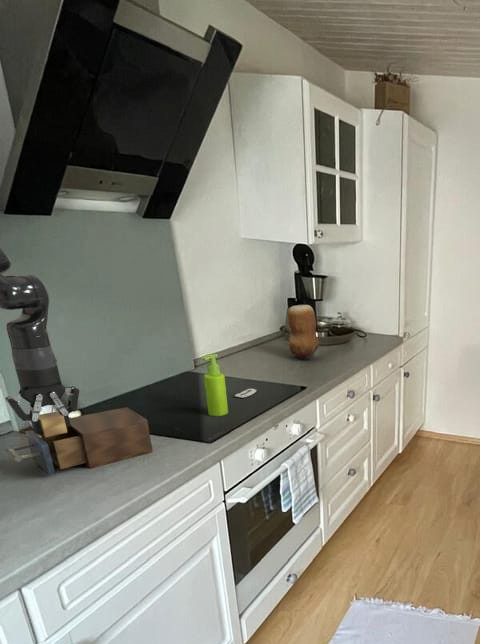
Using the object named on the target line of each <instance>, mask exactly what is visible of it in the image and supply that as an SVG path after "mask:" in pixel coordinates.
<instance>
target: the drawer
mask: <svg viewBox="0 0 480 644" xmlns="http://www.w3.org/2000/svg"><path fill="white" fill-rule="evenodd" d="M25 435H26V439H27V442H28V444H24V445H21V446H15V447H12V446H7V447H5V449H4V450H5V452H6V453H7V455H9V456H10V458H12V459H13V460H14V462H17V463H19V462H22V460H25V459H28V458H32V460H33V461H34V462H35V463H36V464H37V465H38V466H39V467H40V468H41V469H42V470H44V471H45V473H47V474H48V475H49V476H50V475H53V474H56V471H55V466H56V467H57V468H58V469H59V470H65V469H68V468H71V467H75V466H79V465H83V464H84V463H88V461H87V457H86V453H85V448H84V444H83V440H82V436H81V435H80V434H79V433H77V432H76V431H75V430H73V429H72V428H71V427H68V430H67V433H63V434H59V435H54V436H49V437H45V436H43V435H39V434H36V433H35V432H34V431H33V429H29V430H25ZM29 448H30V449H29ZM24 449H29V450H30V453H28V454H24V455H20V454H19V453H18V452H17V451H20V450H24ZM54 465H55V466H54ZM84 465H85V464H84Z"/></svg>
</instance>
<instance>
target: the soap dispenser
mask: <svg viewBox="0 0 480 644" xmlns="http://www.w3.org/2000/svg"><path fill="white" fill-rule="evenodd" d="M218 356H219V355H218V354H216V353H209V354H206V355H203V356H201V357H200V360H203V361H207V360H209V363H208V364H207V365H206V367H207V373H206V374H205V373H204V375H203V379H204V386H205V387H204V388H205V395H206V405H207V412H208V413H207V414H208V415H209V416H210V417H211V416H212V417H222V416H226V415H227V414H229V407H228V397H227V396H228V395H227V385H226V378H225V373H223V372H221V370H220V364H219V363H217V361H216V358H217V357H218Z"/></svg>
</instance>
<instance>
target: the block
mask: <svg viewBox="0 0 480 644" xmlns="http://www.w3.org/2000/svg"><path fill="white" fill-rule="evenodd" d="M38 420H39V421H40V423H41V427H42V431H43V436H45V437H49V436H54V435H59V434H63V433H67V428H66V424H65V420H64V416H62V415H61V414H60V412H59V411H58V410H57V411H51V412H45V413H41V414H40V413H39V419H38Z"/></svg>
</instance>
